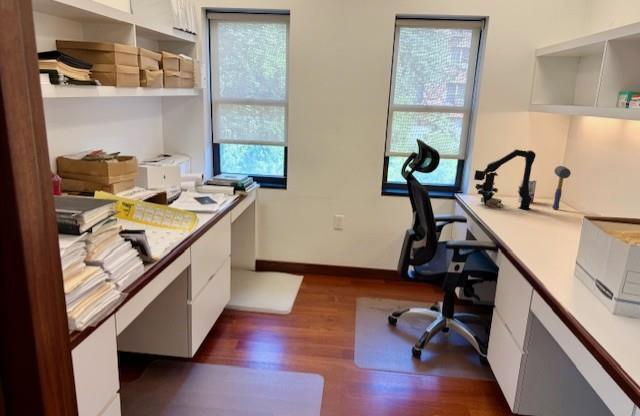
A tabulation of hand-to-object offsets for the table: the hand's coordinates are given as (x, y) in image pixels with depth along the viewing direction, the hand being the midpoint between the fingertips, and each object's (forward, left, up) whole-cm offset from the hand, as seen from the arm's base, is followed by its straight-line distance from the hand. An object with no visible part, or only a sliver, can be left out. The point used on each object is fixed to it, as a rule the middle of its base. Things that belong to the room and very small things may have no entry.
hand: (486, 203), depth 305 cm
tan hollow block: (0, +6, -1) cm, 6 cm away
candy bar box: (-34, +14, -1) cm, 37 cm away
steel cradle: (-9, -1, -1) cm, 9 cm away
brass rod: (0, +4, -1) cm, 4 cm away
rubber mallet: (-30, +36, -1) cm, 47 cm away
